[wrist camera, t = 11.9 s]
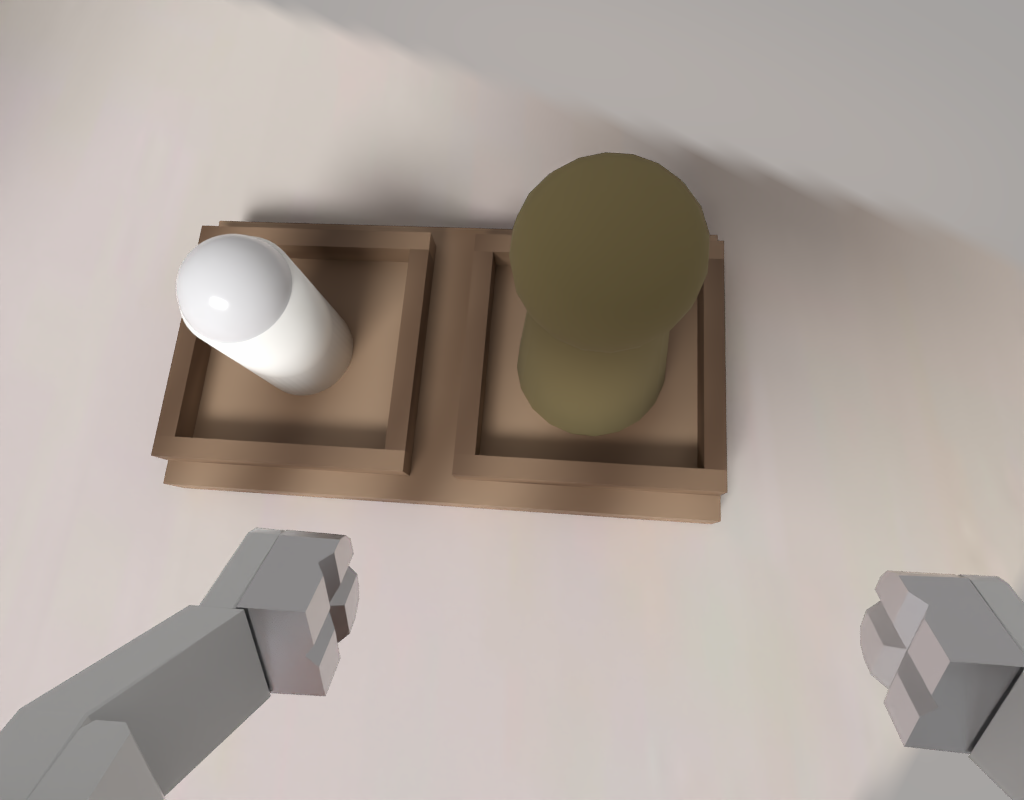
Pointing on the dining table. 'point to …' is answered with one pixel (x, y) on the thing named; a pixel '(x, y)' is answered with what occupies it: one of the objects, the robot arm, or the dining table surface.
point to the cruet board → (442, 393)
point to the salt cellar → (263, 313)
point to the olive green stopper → (604, 287)
